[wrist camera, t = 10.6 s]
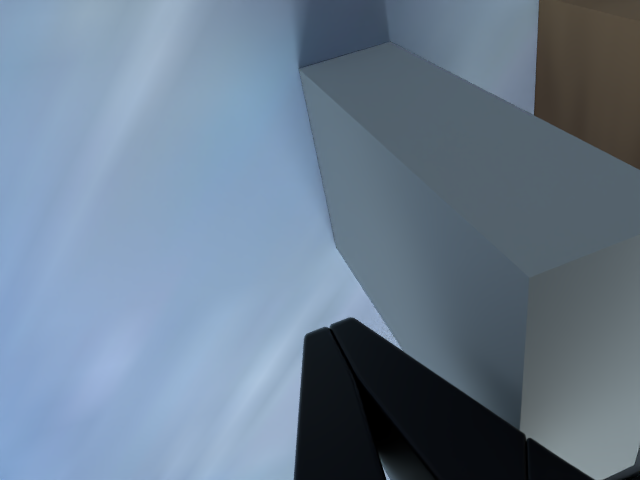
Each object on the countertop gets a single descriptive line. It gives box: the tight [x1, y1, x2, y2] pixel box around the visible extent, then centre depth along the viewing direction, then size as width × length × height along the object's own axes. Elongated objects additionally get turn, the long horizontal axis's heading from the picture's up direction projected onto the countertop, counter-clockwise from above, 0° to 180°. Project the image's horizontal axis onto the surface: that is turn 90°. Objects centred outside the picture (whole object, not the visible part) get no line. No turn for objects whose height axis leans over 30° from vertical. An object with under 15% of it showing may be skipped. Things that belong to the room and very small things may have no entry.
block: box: [299, 42, 640, 480], centre depth 10 cm, size 5×2×8 cm, turn 9°
